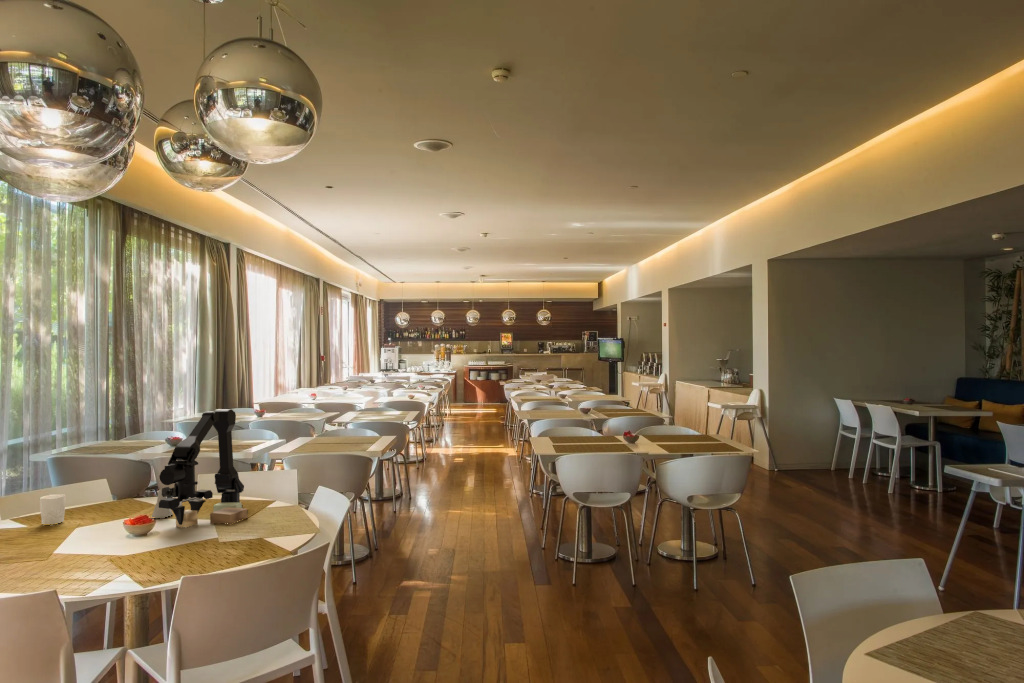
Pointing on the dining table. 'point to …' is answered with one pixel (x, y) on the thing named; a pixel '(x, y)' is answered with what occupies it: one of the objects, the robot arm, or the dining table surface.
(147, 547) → the dining table surface
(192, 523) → the oak cube
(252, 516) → the dining table surface
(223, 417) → the robot arm
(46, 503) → the white cup
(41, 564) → the dining table surface
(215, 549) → the dining table surface
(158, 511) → the flask
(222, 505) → the block
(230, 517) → the base block
